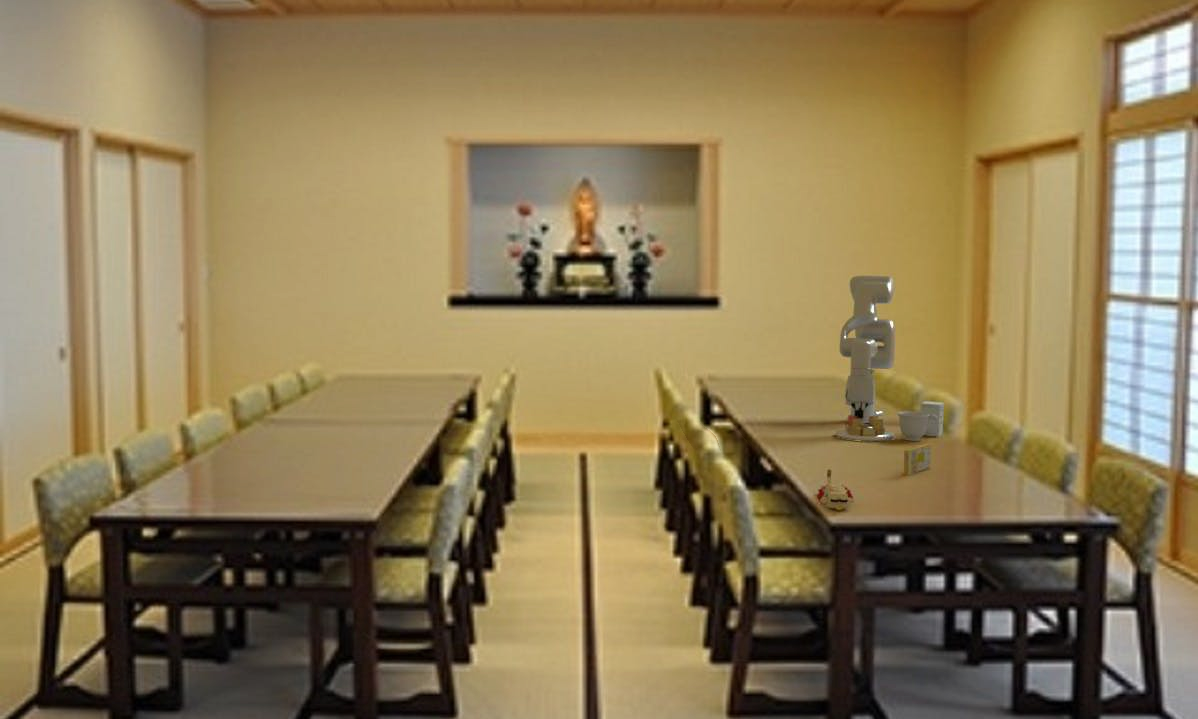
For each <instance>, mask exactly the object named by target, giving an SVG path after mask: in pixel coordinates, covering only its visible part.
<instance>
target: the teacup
mask: <svg viewBox="0 0 1198 719" xmlns="http://www.w3.org/2000/svg"><path fill="white" fill-rule="evenodd" d="M897 415H898V418H899V420H898V421H899V429H900V434H902V435H903V437H904V440H905V441H908V440H909V442H910V441H911V442H918V441H919V442H920V441H921V438H922V437H923V436H925V435H924V434H925V432H926V430H927V429H928V428H930V427H933V426H935V425H936V424H937V422H938V418H937V416H936V415H931V416H930V414H929V413H924V412H921V411H912V410H911V411H910V410H909V411H908V410H905V411H898V412H897ZM929 416H930V419H929ZM932 417H934V418H935V419H936V421H935V423H934V424H932V425H929V426H928V427H927V428H926V426H927V421H928V420H931V418H932Z"/></svg>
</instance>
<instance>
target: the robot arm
mask: <svg viewBox="0 0 1198 719" xmlns="http://www.w3.org/2000/svg"><path fill="white" fill-rule="evenodd" d="M894 288H895V283H894V279H893V278H892V276H887V275H855V276H853V277H852V278H851V279H850V281H849V289H850V294H851V296H852V299H853V314H852V316H851V317H850V318H848V320H846V322H845V323H844V325H843V326H842V327H841V331H840V336H839V354H840V355H841V356H842V357H845V358H850V375H848V376H847V378H846V379H847V380H846V384H845V386H846V387H845V393H844V395H845V396H844V399H845V403H844V404H845V405H846V406H850V415H855V416H858V418H861V419H862V424H865V423H869V416H872V415H875V416H878V417H882V416H883V415H884V414H883V411H877V410H876V409H875V407H876V406H875V405H876V404H875V402H876V378H875V375H874V373H875V370H878V369H879V370H890V369H891V368H893V366H894V364H895V351H896V350H895V349H896V348H895V346H896V327H895V323H894V321H893V320H891V319H887V318H886V319H885V318H878V306H877V304H890V303H891V302H892V300H893V296H894V290H895V289H894ZM854 330H855V331H854ZM852 331H854V334H855V337H848V336H849V334H850V333H851V332H852ZM878 343H882V344H883V345H878ZM846 422H848V417H846Z"/></svg>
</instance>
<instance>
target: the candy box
mask: <svg viewBox="0 0 1198 719" xmlns="http://www.w3.org/2000/svg"><path fill="white" fill-rule="evenodd" d="M928 468H930V469H931V443H925V444H924V443H923V444H921V445H918V446H914V447H910V448H907V449H904V450H903V475H904V474H907V475H906V476H911V475H910V474H912V475H914V474H913V473H915V474H917V473H916V472H918V473H920V472H919V471H921V472H923V471H922V470H924V471H926V470H925V469H927V470H929V469H928Z"/></svg>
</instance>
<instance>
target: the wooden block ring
mask: <svg viewBox="0 0 1198 719" xmlns="http://www.w3.org/2000/svg"><path fill="white" fill-rule="evenodd" d="M847 418H848V421H847V424H845V428H844V429H845V432H847V433H850V434H854V435H863V436H875V435H877V436H878V435H883V434H885V431H886V427H885V426H884V419H883V418H879V416H875V415H872V416H869V424H865V423H862V419H861V418H858V416H855V415H851V414H850V415H848V416H847ZM862 425H865V426H872V427H873V428H862Z"/></svg>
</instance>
